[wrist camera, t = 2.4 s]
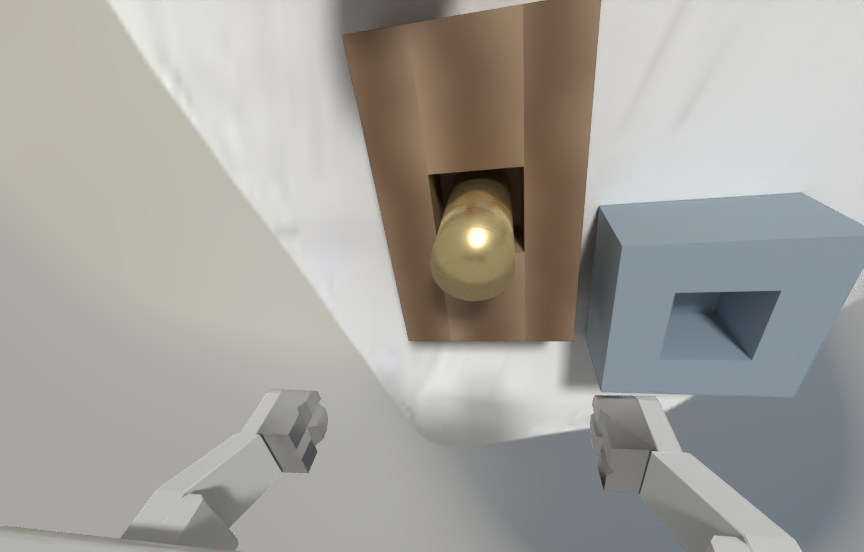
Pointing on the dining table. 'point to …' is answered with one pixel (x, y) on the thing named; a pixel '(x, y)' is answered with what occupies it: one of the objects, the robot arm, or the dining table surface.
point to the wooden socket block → (483, 153)
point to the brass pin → (475, 237)
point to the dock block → (717, 293)
